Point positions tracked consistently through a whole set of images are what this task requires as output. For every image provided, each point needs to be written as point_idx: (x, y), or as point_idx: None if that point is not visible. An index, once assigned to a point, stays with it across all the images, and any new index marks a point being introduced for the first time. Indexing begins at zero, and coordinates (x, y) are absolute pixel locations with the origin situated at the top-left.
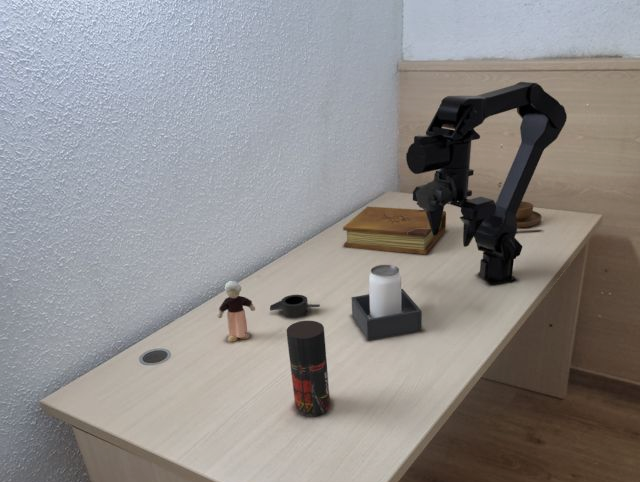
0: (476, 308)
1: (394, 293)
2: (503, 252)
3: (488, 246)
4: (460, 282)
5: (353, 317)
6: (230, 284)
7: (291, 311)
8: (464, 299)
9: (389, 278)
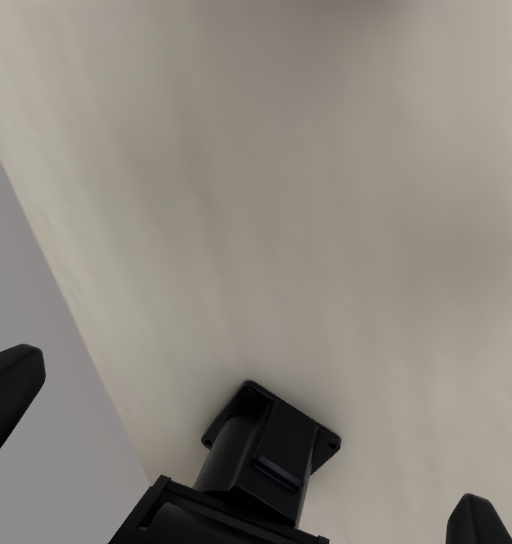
0: (159, 175)
1: None
2: (141, 502)
3: (203, 528)
4: (366, 357)
5: None
6: None
7: None
8: (251, 223)
9: None
